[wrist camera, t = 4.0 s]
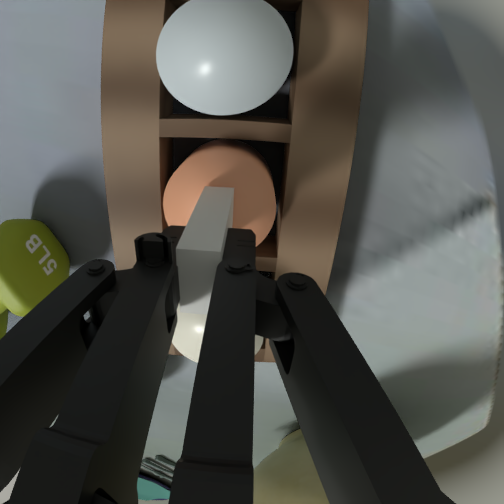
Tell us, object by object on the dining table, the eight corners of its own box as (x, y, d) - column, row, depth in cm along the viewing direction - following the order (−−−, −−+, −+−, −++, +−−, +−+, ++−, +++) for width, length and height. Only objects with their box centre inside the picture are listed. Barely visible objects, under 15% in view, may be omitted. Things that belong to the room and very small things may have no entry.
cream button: (177, 259, 22) (163, 294, 18) (266, 265, 22) (267, 302, 18) (182, 324, 25) (172, 362, 21) (259, 330, 25) (259, 369, 21)
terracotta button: (179, 137, 19) (161, 150, 15) (277, 142, 19) (281, 156, 15) (180, 224, 22) (166, 254, 18) (268, 230, 22) (270, 261, 18)
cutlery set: (68, 460, 49) (65, 468, 47) (152, 445, 41) (150, 457, 39) (137, 494, 57) (136, 502, 55) (233, 483, 49) (233, 493, 47)
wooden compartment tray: (127, -6, 14) (108, -17, 11) (354, 1, 14) (369, -11, 12) (143, 325, 27) (133, 349, 24) (303, 337, 27) (307, 363, 25)
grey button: (180, 10, 14) (160, -7, 10) (289, 13, 14) (297, -5, 10) (175, 107, 17) (154, 115, 13) (281, 112, 17) (287, 120, 13)
